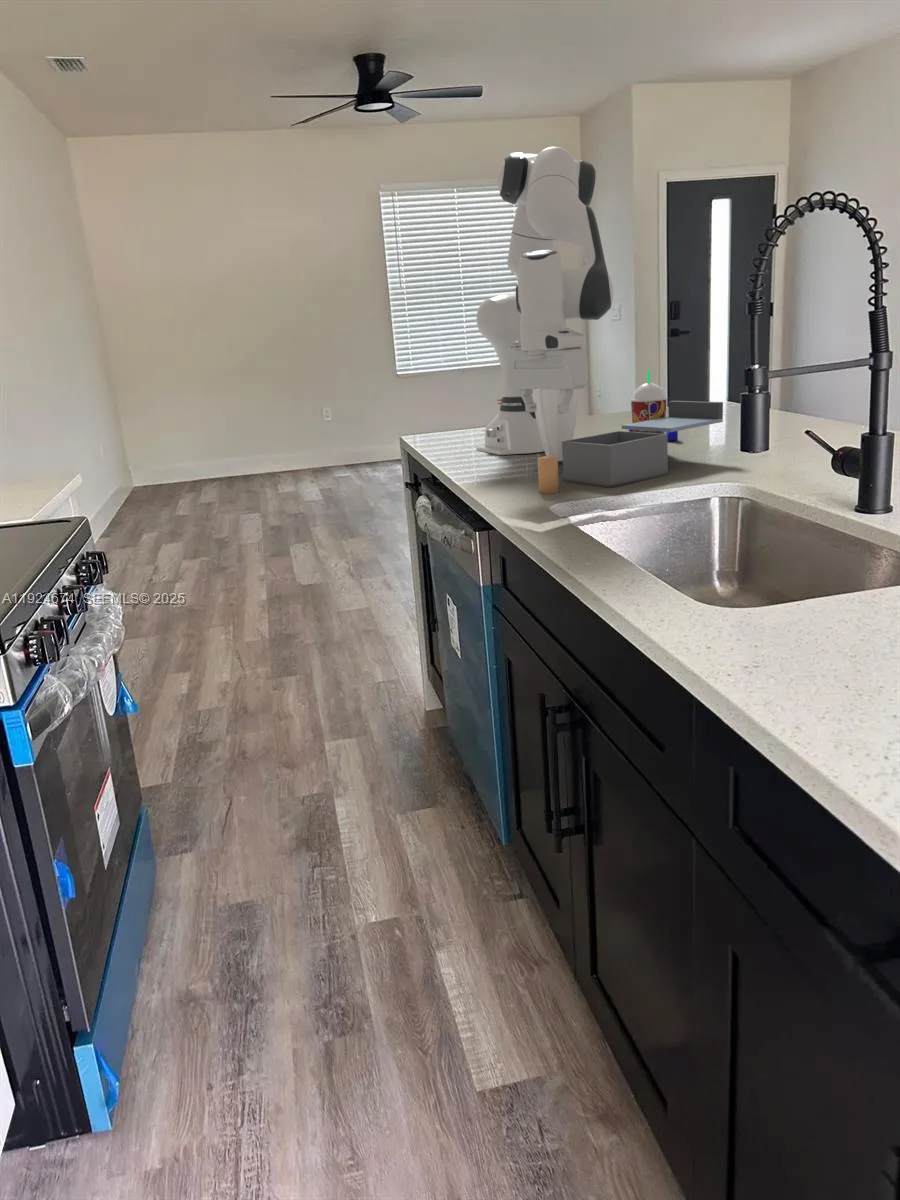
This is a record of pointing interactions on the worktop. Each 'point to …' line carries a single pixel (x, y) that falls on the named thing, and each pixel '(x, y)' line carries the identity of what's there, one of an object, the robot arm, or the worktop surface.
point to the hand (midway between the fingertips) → (546, 412)
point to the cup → (554, 421)
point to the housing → (615, 458)
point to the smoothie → (648, 404)
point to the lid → (683, 417)
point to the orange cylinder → (548, 474)
